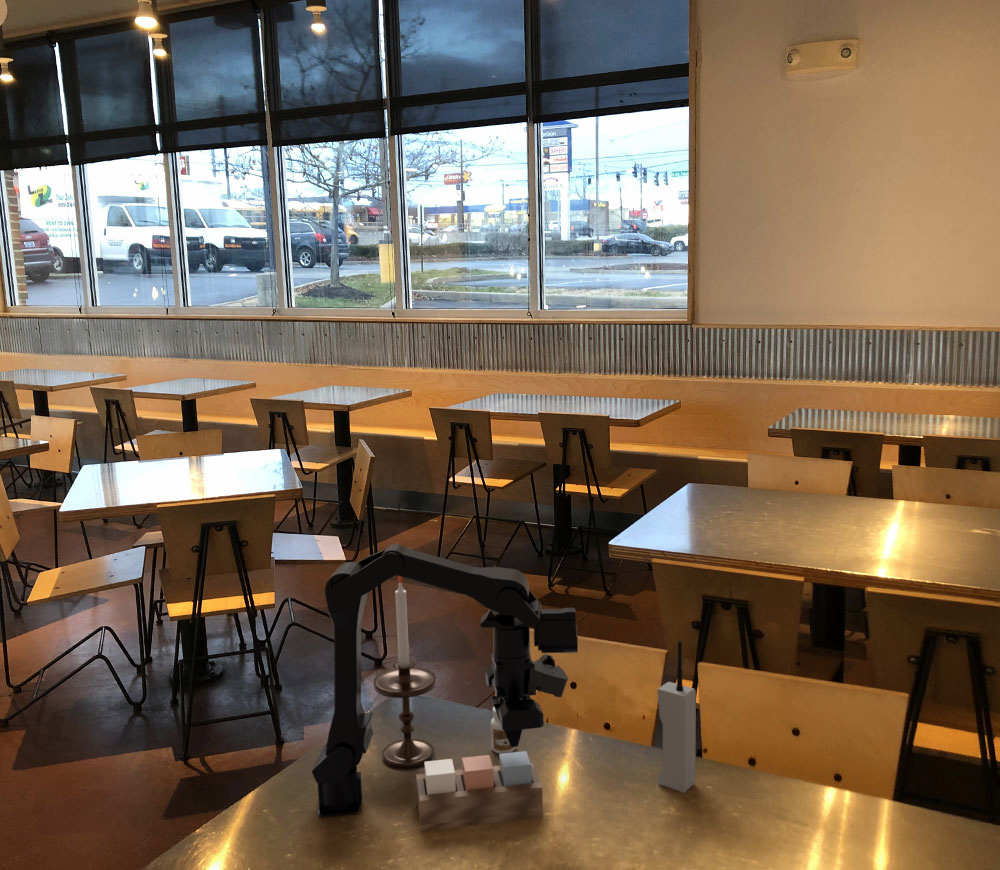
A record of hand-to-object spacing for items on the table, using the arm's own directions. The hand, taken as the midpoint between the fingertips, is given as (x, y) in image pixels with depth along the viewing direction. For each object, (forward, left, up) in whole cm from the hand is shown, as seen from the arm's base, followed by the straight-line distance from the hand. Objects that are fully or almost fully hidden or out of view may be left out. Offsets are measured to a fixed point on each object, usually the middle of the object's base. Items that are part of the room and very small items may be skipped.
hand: (514, 745), depth 148 cm
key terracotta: (-6, 0, -6) cm, 9 cm away
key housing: (-6, 0, -10) cm, 12 cm away
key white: (-12, 0, -6) cm, 13 cm away
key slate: (0, 0, -6) cm, 6 cm away
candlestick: (-16, +20, -10) cm, 28 cm away
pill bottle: (+1, +19, -10) cm, 22 cm away
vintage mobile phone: (+27, +1, -10) cm, 29 cm away
